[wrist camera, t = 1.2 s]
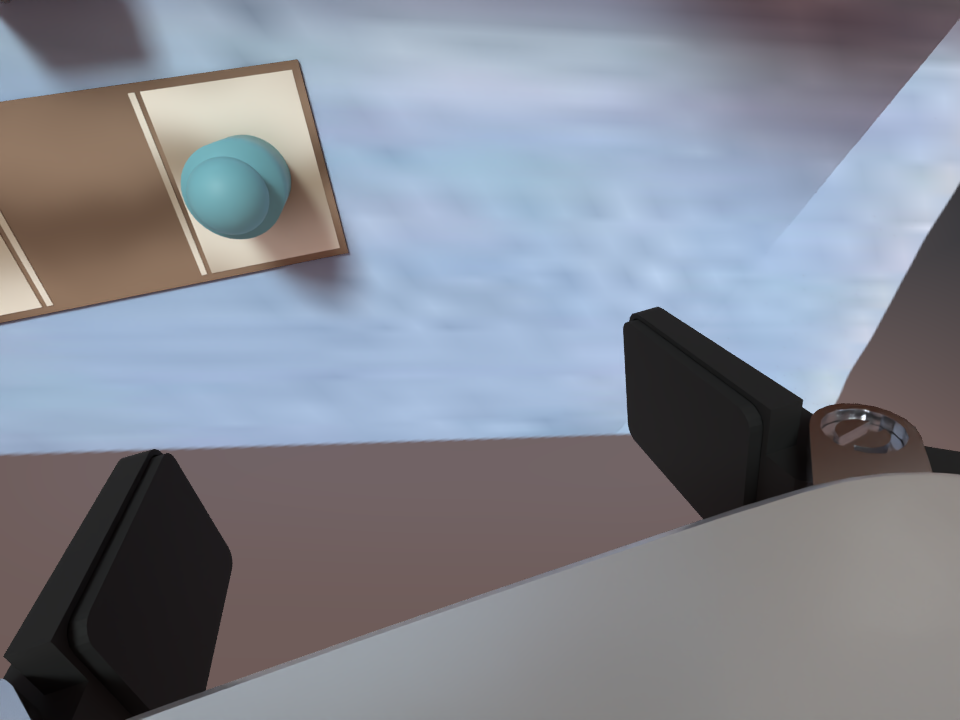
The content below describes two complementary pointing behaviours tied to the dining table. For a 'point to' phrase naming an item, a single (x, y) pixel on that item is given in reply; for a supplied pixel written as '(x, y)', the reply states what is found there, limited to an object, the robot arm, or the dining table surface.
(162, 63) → the dining table surface
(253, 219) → the pawn
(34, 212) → the board
